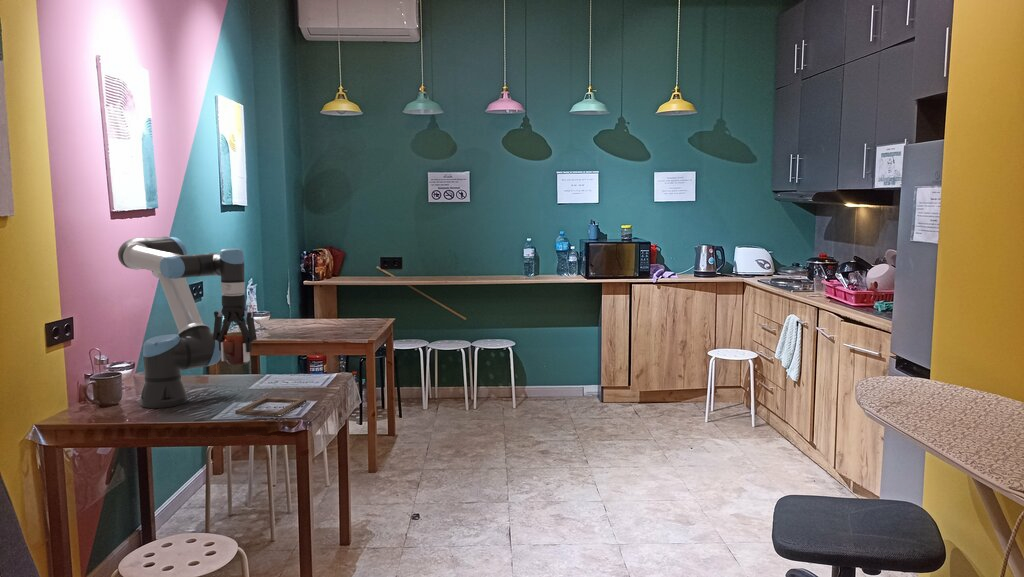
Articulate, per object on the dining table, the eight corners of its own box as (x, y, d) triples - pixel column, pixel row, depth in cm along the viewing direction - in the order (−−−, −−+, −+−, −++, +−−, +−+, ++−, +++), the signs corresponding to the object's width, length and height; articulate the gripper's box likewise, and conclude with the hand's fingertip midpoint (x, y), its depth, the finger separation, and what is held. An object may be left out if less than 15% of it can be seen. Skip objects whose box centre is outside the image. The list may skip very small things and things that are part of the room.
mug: (233, 360, 264) (232, 331, 263) (256, 361, 262) (255, 332, 261) (213, 367, 252) (212, 337, 251) (237, 368, 251) (236, 338, 249)
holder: (235, 413, 250) (235, 410, 250) (264, 399, 269) (264, 396, 269) (279, 416, 247) (279, 413, 247) (306, 401, 266) (306, 399, 266)
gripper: (199, 294, 253) (202, 361, 255) (255, 296, 249) (257, 364, 252) (212, 292, 260) (214, 357, 263) (266, 294, 257) (268, 360, 259)
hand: (235, 360), depth 257 cm, fingers closed on mug, 7 cm apart
